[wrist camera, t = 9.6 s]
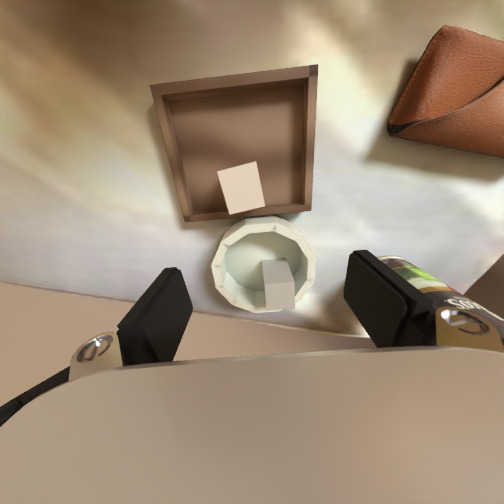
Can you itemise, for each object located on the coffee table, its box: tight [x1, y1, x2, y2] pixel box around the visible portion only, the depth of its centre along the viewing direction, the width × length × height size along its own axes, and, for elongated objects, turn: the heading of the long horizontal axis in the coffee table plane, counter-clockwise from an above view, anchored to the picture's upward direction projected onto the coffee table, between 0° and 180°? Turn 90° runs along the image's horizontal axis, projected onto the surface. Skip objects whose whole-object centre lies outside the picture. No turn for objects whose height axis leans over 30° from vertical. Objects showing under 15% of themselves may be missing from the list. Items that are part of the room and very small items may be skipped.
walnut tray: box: [150, 64, 318, 222], centre depth 20 cm, size 13×16×2 cm
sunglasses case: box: [387, 25, 504, 158], centre depth 18 cm, size 18×7×7 cm
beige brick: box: [217, 161, 265, 215], centre depth 19 cm, size 4×4×6 cm
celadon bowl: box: [211, 215, 316, 313], centre depth 25 cm, size 13×13×4 cm
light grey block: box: [262, 258, 295, 311], centre depth 24 cm, size 4×4×6 cm
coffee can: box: [378, 256, 504, 339], centre depth 23 cm, size 10×10×14 cm
